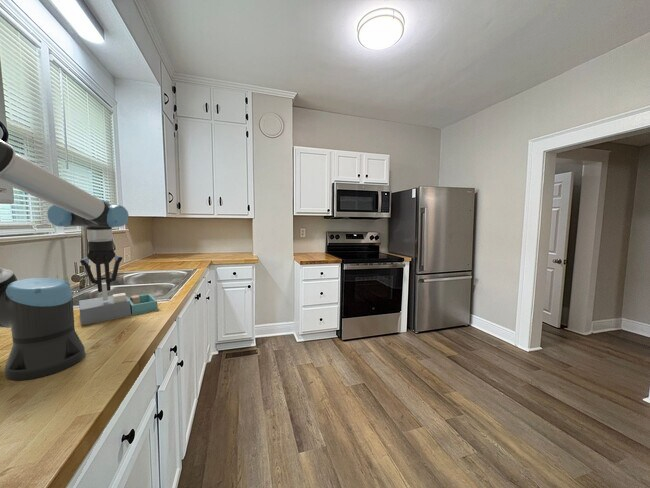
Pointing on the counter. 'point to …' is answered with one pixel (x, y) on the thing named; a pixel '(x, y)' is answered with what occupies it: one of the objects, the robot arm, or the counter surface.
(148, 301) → the bin
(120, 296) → the cream tile
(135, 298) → the terracotta tile
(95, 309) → the grey flat block
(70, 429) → the counter surface
